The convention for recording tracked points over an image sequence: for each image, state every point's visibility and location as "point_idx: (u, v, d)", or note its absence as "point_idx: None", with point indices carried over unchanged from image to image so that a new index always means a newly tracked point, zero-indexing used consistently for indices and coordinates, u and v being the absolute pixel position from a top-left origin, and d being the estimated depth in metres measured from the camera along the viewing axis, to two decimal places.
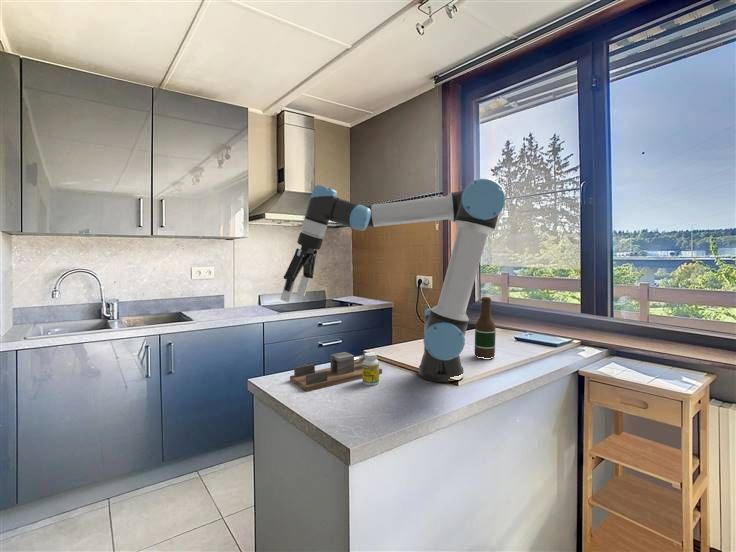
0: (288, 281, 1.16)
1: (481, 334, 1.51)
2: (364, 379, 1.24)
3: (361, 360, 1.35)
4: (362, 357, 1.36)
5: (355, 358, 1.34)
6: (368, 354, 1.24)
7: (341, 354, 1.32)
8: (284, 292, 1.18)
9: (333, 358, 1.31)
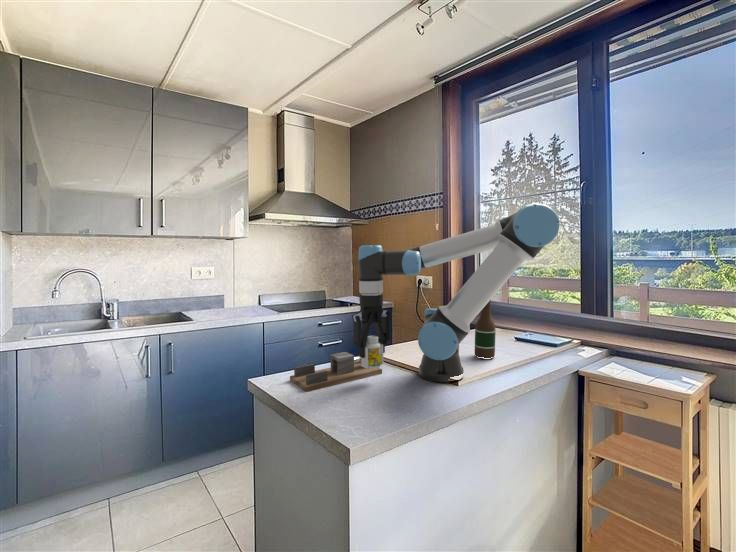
0: (360, 348, 1.22)
1: (481, 334, 1.51)
2: None
3: None
4: None
5: (355, 358, 1.34)
6: (369, 337, 1.24)
7: (341, 354, 1.32)
8: (362, 359, 1.24)
9: (333, 358, 1.31)
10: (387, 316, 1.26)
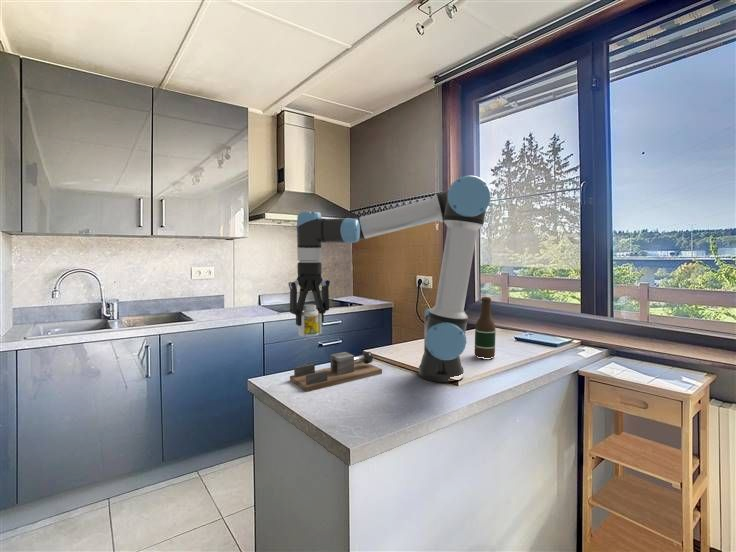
0: (296, 316, 1.21)
1: (481, 334, 1.51)
2: None
3: (361, 360, 1.35)
4: (362, 357, 1.36)
5: (355, 358, 1.34)
6: (307, 305, 1.23)
7: (341, 354, 1.32)
8: (299, 327, 1.22)
9: (333, 358, 1.31)
10: (326, 285, 1.25)
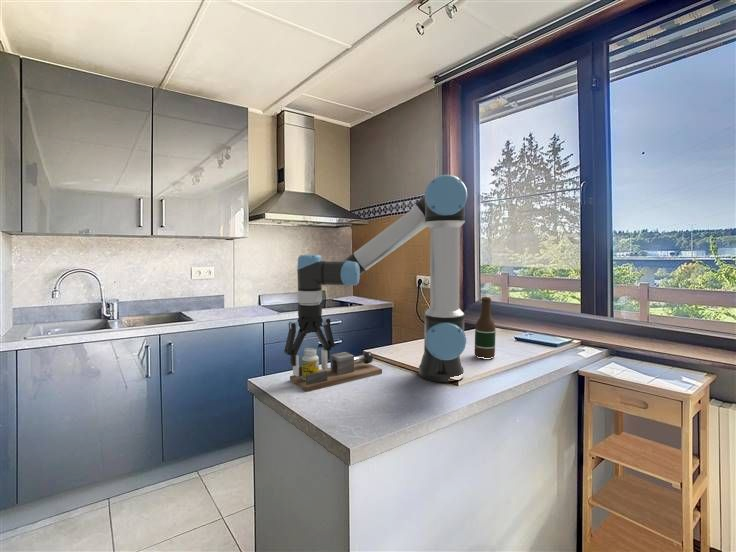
0: (290, 356, 1.21)
1: (481, 334, 1.51)
2: (303, 375, 1.23)
3: (361, 360, 1.35)
4: (362, 357, 1.36)
5: (355, 358, 1.34)
6: (307, 350, 1.24)
7: (341, 354, 1.32)
8: (293, 367, 1.22)
9: (333, 358, 1.31)
10: (328, 324, 1.26)
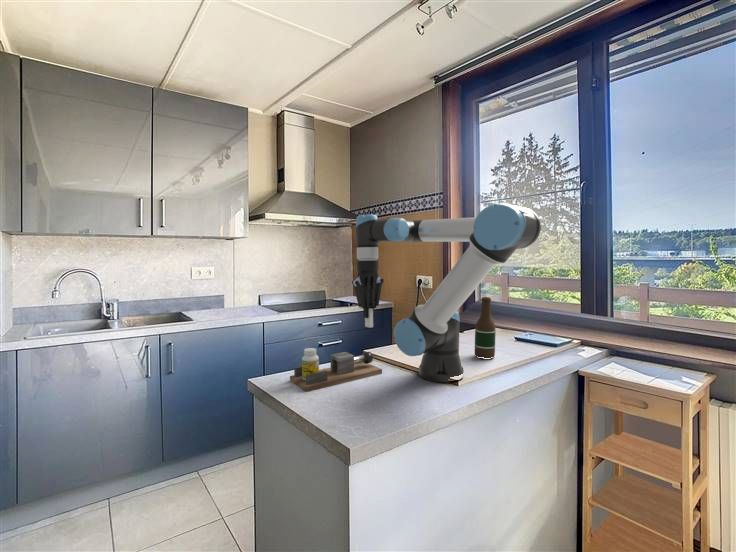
0: (364, 309, 1.35)
1: (481, 334, 1.51)
2: (303, 375, 1.23)
3: (361, 360, 1.35)
4: (362, 357, 1.36)
5: (355, 358, 1.34)
6: (307, 350, 1.24)
7: (341, 354, 1.32)
8: (366, 319, 1.36)
9: (333, 358, 1.31)
10: (380, 283, 1.38)
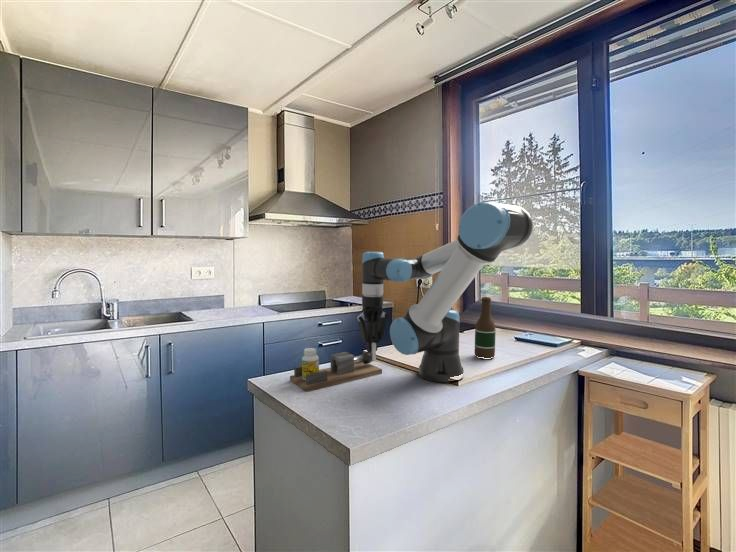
0: (367, 343, 1.38)
1: (481, 334, 1.51)
2: (303, 375, 1.23)
3: (360, 360, 1.35)
4: (361, 357, 1.36)
5: (354, 358, 1.34)
6: (307, 350, 1.24)
7: (341, 354, 1.32)
8: None
9: (333, 358, 1.31)
10: (385, 317, 1.40)
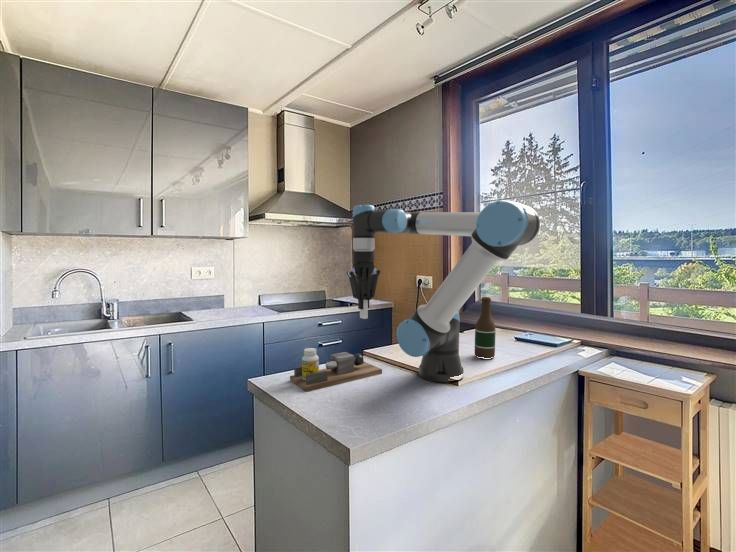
0: (358, 300, 1.34)
1: (481, 334, 1.51)
2: (303, 375, 1.23)
3: None
4: None
5: None
6: (307, 350, 1.24)
7: (341, 354, 1.32)
8: (360, 311, 1.36)
9: (333, 358, 1.31)
10: (377, 274, 1.36)
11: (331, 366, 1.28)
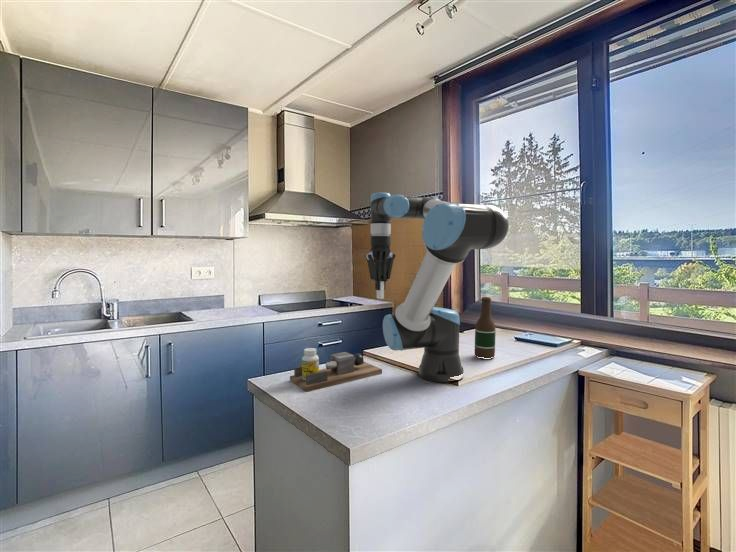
0: (376, 281, 1.44)
1: (481, 334, 1.51)
2: (303, 375, 1.23)
3: None
4: None
5: None
6: (307, 350, 1.24)
7: (341, 354, 1.32)
8: (377, 291, 1.46)
9: (333, 358, 1.31)
10: (392, 258, 1.47)
11: (331, 366, 1.28)
